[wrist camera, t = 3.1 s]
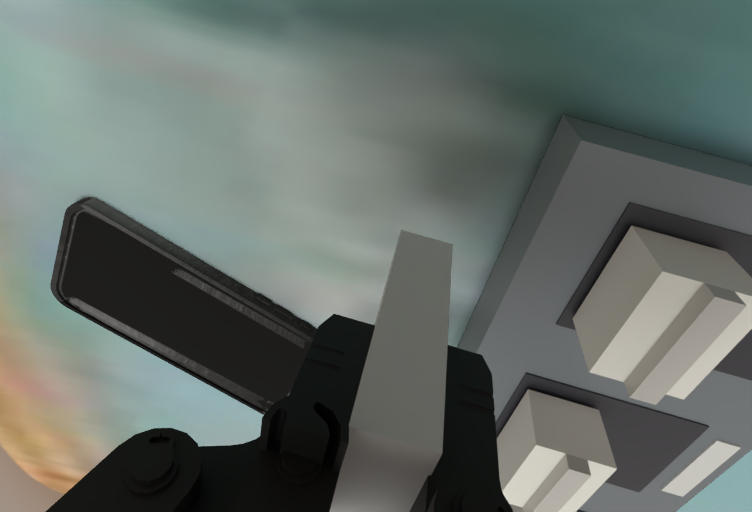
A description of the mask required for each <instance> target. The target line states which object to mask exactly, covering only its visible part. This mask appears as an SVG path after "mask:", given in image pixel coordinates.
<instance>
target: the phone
mask: <svg viewBox="0 0 752 512" xmlns="http://www.w3.org/2000/svg"><path fill="white" fill-rule="evenodd" d="M51 290H52V293H53V295H54V296H55V298H56V299H57V300H58V301H59V302H60V303H61V304H63V305H64V306H66V307H67V308H69V309H71V310H73V311H74V312H76V313H78V314H80V315H82V316H84V317H85V318H87V319H89V320H91V321H93V322H95V323H96V324H98V325H100V326H102V327H104V328H106V329H107V330H109V331H111V332H113V333H115V334H117V335H118V336H120V337H122V338H124V339H126V340H128V341H129V342H131V343H133V344H135V345H137V346H139V347H140V348H142V349H144V350H146V351H148V352H150V353H151V354H153V355H155V356H157V357H159V358H161V359H162V360H164V361H166V362H168V363H170V364H172V365H173V366H175V367H177V368H179V369H181V370H183V371H184V372H186V373H188V374H190V375H192V376H194V377H195V378H197V379H199V380H201V381H203V382H205V383H206V384H208V385H210V386H212V387H214V388H216V389H217V390H219V391H221V392H223V393H225V394H227V395H228V396H230V397H232V398H234V399H236V400H238V401H239V402H241V403H243V404H245V405H247V406H249V407H250V408H252V409H254V410H256V411H258V412H260V413H261V414H264V415H265V413H266V412H267V411H268V409H269V408H270V407H271V405H272V404H274V403H276V402H277V401H279V400H281V399H282V398H284V397H285V396H289V394H290V391H291V389H292V387H293V385H294V382H295V380H296V378H297V375H298V373H299V371H300V369H301V366H302V364H303V362H304V360H305V357H306V355H307V353H308V350H309V348H310V346H311V344H312V341H313V339H314V336H315V334H316V332H317V330H318V329H316V328H315V327H313V326H311V325H309V324H308V323H306V322H304V321H303V320H301V319H299V318H298V317H296V316H294V315H293V314H291V313H289V312H288V311H286V310H284V309H283V308H281V307H279V306H278V305H276V304H274V303H272V302H271V301H269V300H267V299H266V298H264V297H262V296H261V295H259V294H257V293H256V292H254V291H252V290H251V289H249V288H247V287H246V286H244V285H242V284H241V283H239V282H237V281H236V280H234V279H232V278H230V277H229V276H227V275H225V274H224V273H222V272H220V271H219V270H217V269H215V268H214V267H212V266H210V265H209V264H207V263H205V262H204V261H202V260H200V259H199V258H197V257H195V256H194V255H192V254H190V253H188V252H187V251H185V250H183V249H182V248H180V247H178V246H177V245H175V244H173V243H172V242H170V241H168V240H167V239H165V238H163V237H162V236H160V235H158V234H157V233H155V232H153V231H152V230H150V229H148V228H146V227H145V226H143V225H141V224H140V223H138V222H136V221H135V220H133V219H131V218H130V217H128V216H126V215H125V214H123V213H121V212H120V211H118V210H116V209H115V208H113V207H111V206H109V205H108V204H106V203H104V202H103V201H100V200H98V199H96V198H90V197H88V198H83V199H81V200H80V201H78V202H76V203H74V204H72V205H71V206H69V207H68V208H67V210H66V212H65V216H64V221H63V226H62V230H61V235H60V240H59V245H58V250H57V255H56V260H55V265H54V270H53V275H52V280H51Z"/></svg>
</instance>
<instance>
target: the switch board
mask: <svg viewBox="0 0 752 512" xmlns="http://www.w3.org/2000/svg"><path fill="white" fill-rule="evenodd" d="M631 225H632V226H635V227H639V228H642V229H646V230H650V231H653V232H657V233H661V234H664V235H668V236H671V237H675V238H679V239H682V240H686V241H689V242H693V243H697V244H700V245H704V246H708V247H711V248H715V249H718V250H722V251H726V252H727V253H728V254H729V255H730V256H731V257H732V258H733V259H734V260H735V261H736V262H737V263H738V264H739V265H740V266H741V267H742V268H743V269H744V270H745V271H746V272H747V273H748V274H749V275H750V276H751V277H752V166H751V165H748V164H744V163H740V162H736V161H733V160H729V159H725V158H722V157H718V156H714V155H710V154H707V153H703V152H699V151H695V150H692V149H688V148H684V147H681V146H677V145H673V144H669V143H666V142H662V141H658V140H654V139H651V138H647V137H643V136H640V135H636V134H632V133H628V132H625V131H621V130H617V129H613V128H610V127H606V126H602V125H599V124H595V123H591V122H587V121H584V120H580V119H576V118H573V117H569V116H565V115H563V116H562V118H561V120H560V122H559V124H558V127H557V129H556V131H555V133H554V135H553V138H552V140H551V142H550V144H549V146H548V149H547V151H546V153H545V155H544V157H543V160H542V162H541V164H540V166H539V169H538V171H537V173H536V175H535V177H534V180H533V182H532V184H531V186H530V188H529V191H528V193H527V195H526V197H525V199H524V202H523V204H522V206H521V208H520V210H519V213H518V215H517V217H516V219H515V221H514V224H513V226H512V228H511V230H510V233H509V235H508V237H507V239H506V241H505V244H504V246H503V248H502V250H501V252H500V255H499V257H498V259H497V261H496V263H495V266H494V268H493V270H492V272H491V274H490V277H489V279H488V281H487V283H486V286H485V288H484V290H483V292H482V294H481V297H480V299H479V301H478V303H477V305H476V308H475V310H474V312H473V314H472V316H471V319H470V321H469V323H468V325H467V327H466V330H465V332H464V334H463V336H462V338H461V341H460V343H459V345H458V347H457V348H460V349H463V350H467V351H470V352H473V353H477V354H480V355H482V356H483V358H484V360H485V362H486V364H487V365H488V367H489V369H490V371H491V373H492V380H493V398H494V408H495V411H494V415H495V422H496V436H497V438H498V436H499V435H500V433H501V431H502V430H503V428H504V427H505V425H506V423H507V422H508V420H509V419H510V417H511V416H512V414H513V412H514V411H515V409H516V408H517V406H518V404H519V403H520V401H521V400H522V398H523V396H524V395H525V393H526V392H527V390H528V389H529V390H532V391H536V392H539V393H543V394H546V395H549V396H553V397H556V398H560V399H563V400H567V401H570V402H573V403H577V404H580V405H584V406H587V407H591V408H594V409H597V410H599V411H600V415H601V418H602V421H603V424H604V428H605V431H606V434H607V437H608V441H609V444H610V447H611V450H612V454H613V457H614V460H615V464H616V467H617V470H616V471H615V472H614V473H613V474H612V475H611V476H610V477H609V478H608V479H607V480H606V481H605V482H604V483H603V484H602V485H601V486H600V487H599V488H598V489H597V490H596V491H595V492H594V494H593V495H592V496H591V497H590V498H589V499H588V500H587V501H586V502H585V503H584V504H583V505H582V506H581V507H580V508H579V509H578V510H577V511H576V512H676V511H677V510H678V509H679V508H681V507H682V506H683V505H684V504H686V503H687V502H688V501H689V500H690V499H692V498H693V497H694V496H695V495H697V494H698V493H699V492H700V491H701V490H703V489H704V488H705V487H706V486H708V485H709V484H710V483H711V482H712V481H714V480H715V479H716V478H717V477H719V476H720V475H721V474H722V473H723V472H725V471H726V470H727V469H728V468H730V467H731V466H732V465H733V464H735V463H736V462H737V461H738V460H739V459H741V458H742V457H743V456H744V455H746V454H747V453H748V452H749V451H750V450H752V329H751V330H750V331H749V332H748V333H747V334H746V335H745V336H744V337H743V339H742V340H741V341H740V342H739V343H738V344H737V345H736V346H735V347H734V348H733V349H732V350H731V351H730V352H729V353H728V354H727V355H726V356H725V357H724V358H723V359H722V360H721V361H720V362H719V363H718V365H717V366H716V367H715V368H714V369H713V370H712V371H711V372H710V373H709V374H708V375H707V376H706V377H705V378H704V379H703V380H702V381H701V382H700V383H699V384H698V385H697V386H696V387H695V388H694V389H693V391H692V392H691V393H690V394H689V395H688V396H687V397H686V398H685V399H684V400H683V399H680V398H676V397H673V396H669V395H665V396H664V397H663V398H662V399H661V400H660V401H659V402H658V403H657V404H656V405H654V404H650V403H647V402H643V401H640V400H636V399H633V398H630V397H629V395H628V392H627V390H626V387H625V384H624V382H621V381H618V380H614V379H611V378H607V377H604V376H600V375H597V374H594V373H590V372H589V370H588V367H587V364H586V361H585V357H584V354H583V351H582V348H581V344H580V341H579V338H578V335H577V332H576V328H575V325H574V322H573V317H574V316H575V314H576V313H577V311H578V309H579V308H580V306H581V305H582V303H583V301H584V300H585V298H586V297H587V295H588V294H589V292H590V290H591V289H592V287H593V286H594V284H595V282H596V281H597V279H598V278H599V276H600V275H601V273H602V271H603V270H604V268H605V267H606V265H607V263H608V262H609V260H610V259H611V257H612V256H613V254H614V252H615V251H616V249H617V248H618V246H619V244H620V243H621V241H622V240H623V238H624V237H625V235H626V233H627V232H628V230H629V229H630V227H631Z"/></svg>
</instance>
